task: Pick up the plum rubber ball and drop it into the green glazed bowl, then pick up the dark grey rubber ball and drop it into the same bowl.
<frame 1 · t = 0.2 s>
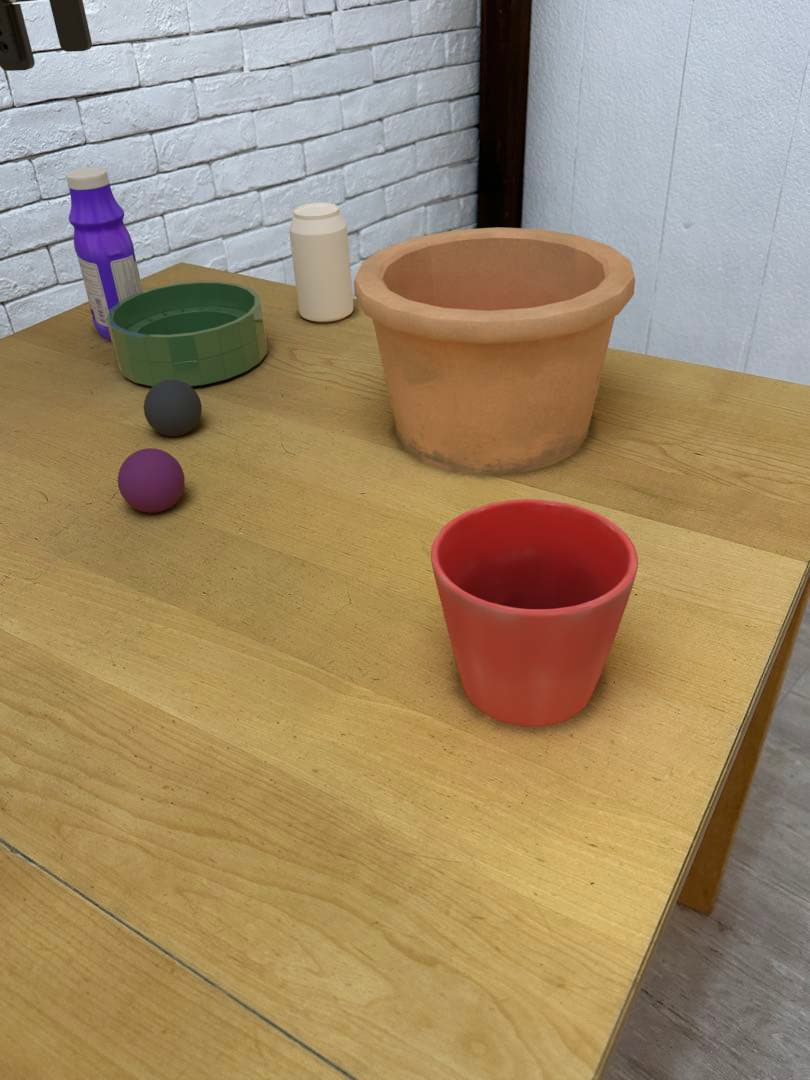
hand: (49, 59, 63), 30 cm above the table, tool pointing down, fingers open, 8 cm apart
beverage can: (327, 318, 103), on the table
bottle: (125, 335, 102), on the table
flower pot: (527, 683, 54), on the table
plum ball: (158, 507, 72), on the table
grey ball: (178, 433, 82), on the table
green bowl: (195, 362, 94), on the table
pottery: (491, 431, 80), on the table
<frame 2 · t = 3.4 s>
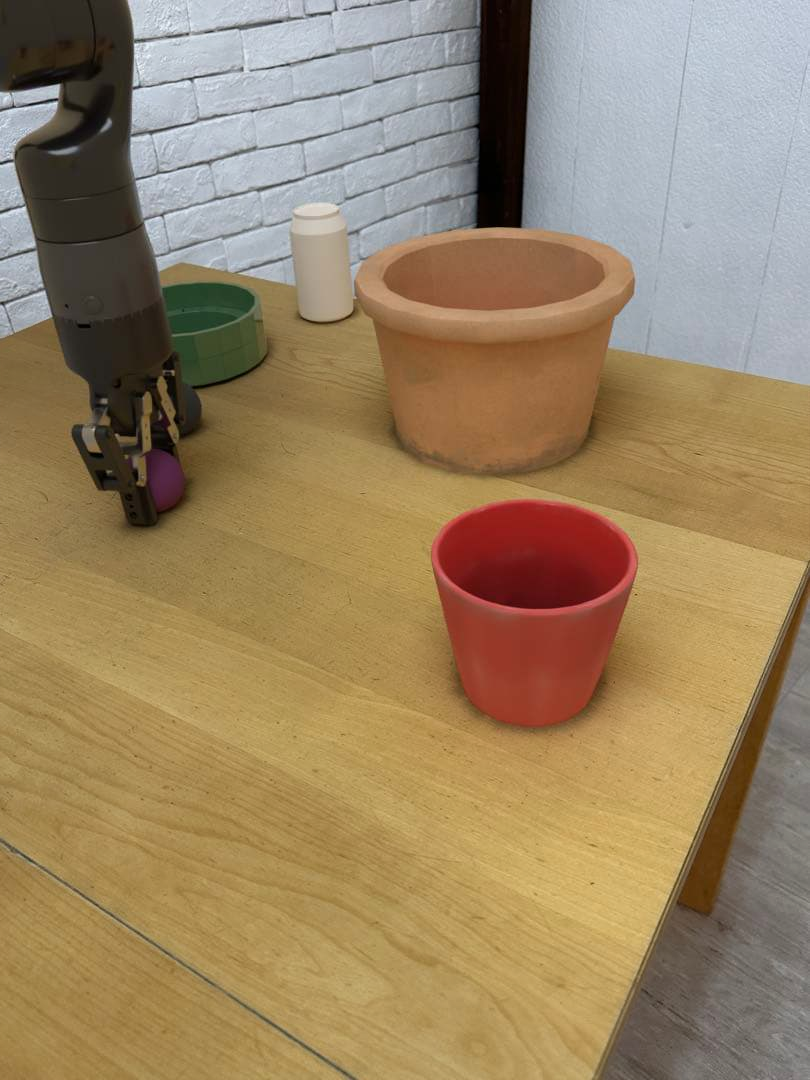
hand: (157, 503, 71), 0 cm above the table, tool pointing down, fingers closed on plum ball, 5 cm apart
plum ball: (158, 507, 72), on the table, touching gripper
everything else where it was.
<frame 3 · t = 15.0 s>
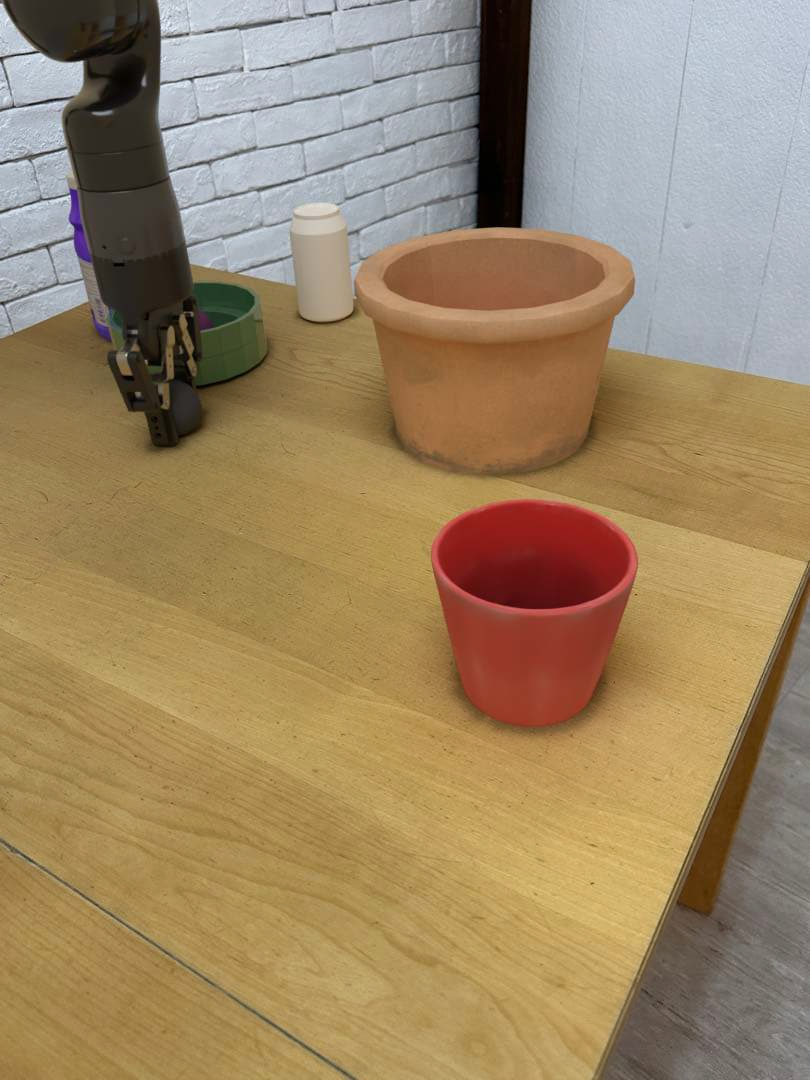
hand: (177, 429, 81), 0 cm above the table, tool pointing down, fingers closed on grey ball, 5 cm apart
plum ball: (194, 355, 94), point 1 cm above the table, touching green bowl
grey ball: (178, 433, 82), on the table, touching gripper
everything else where it was.
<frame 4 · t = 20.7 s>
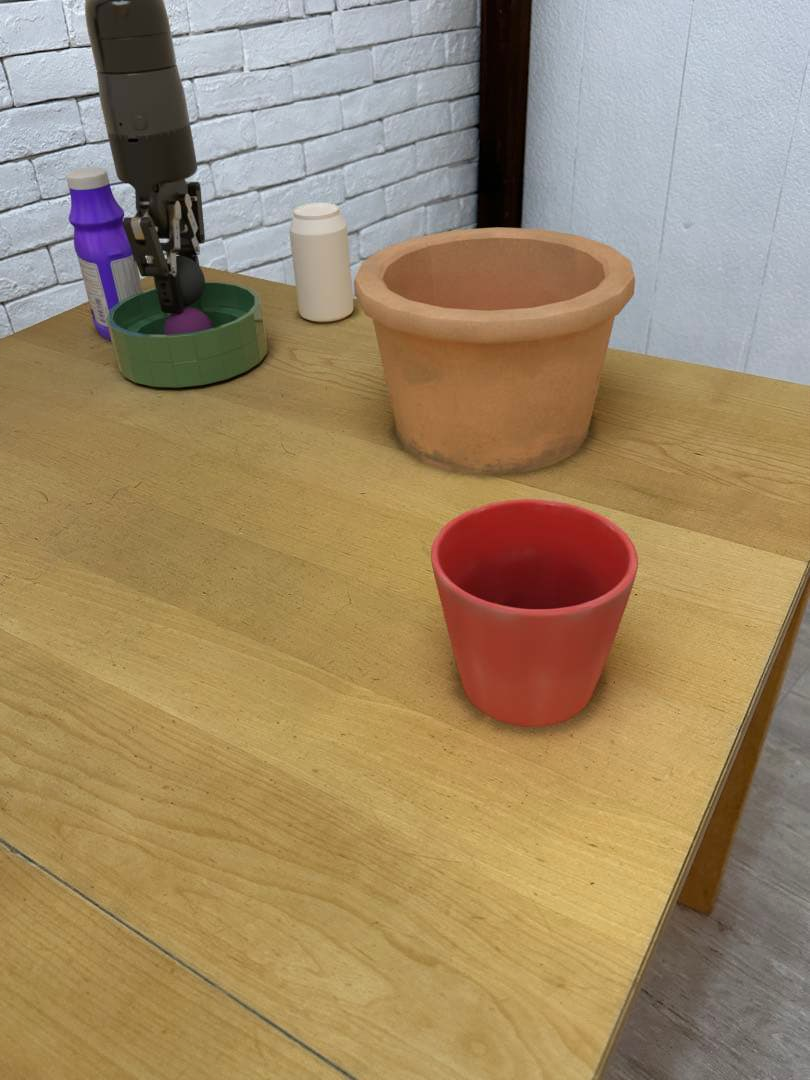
hand: (183, 301, 93), 6 cm above the table, tool pointing down, fingers closed on grey ball, 5 cm apart
plum ball: (194, 355, 94), point 1 cm above the table, touching green bowl, gripper
grey ball: (184, 305, 93), point 5 cm above the table, touching gripper
everything else where it was.
when the fingers open (5 cm above the table, at t = 26.2 s): grey ball stays where it is, point 5 cm above the table.
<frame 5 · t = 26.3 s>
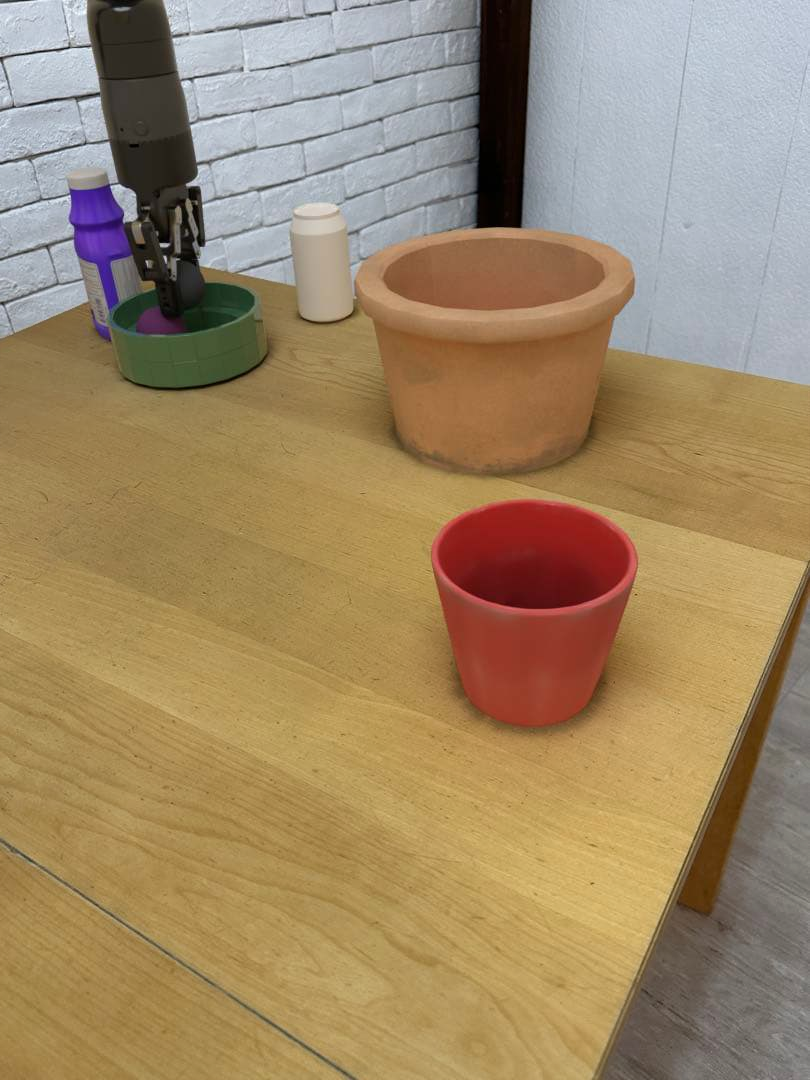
hand: (183, 305, 93), 5 cm above the table, tool pointing down, fingers open, 5 cm apart
plum ball: (184, 339, 93), point 3 cm above the table, tilted 72°, touching green bowl
grey ball: (184, 309, 93), point 5 cm above the table, touching gripper
everything else where it was.
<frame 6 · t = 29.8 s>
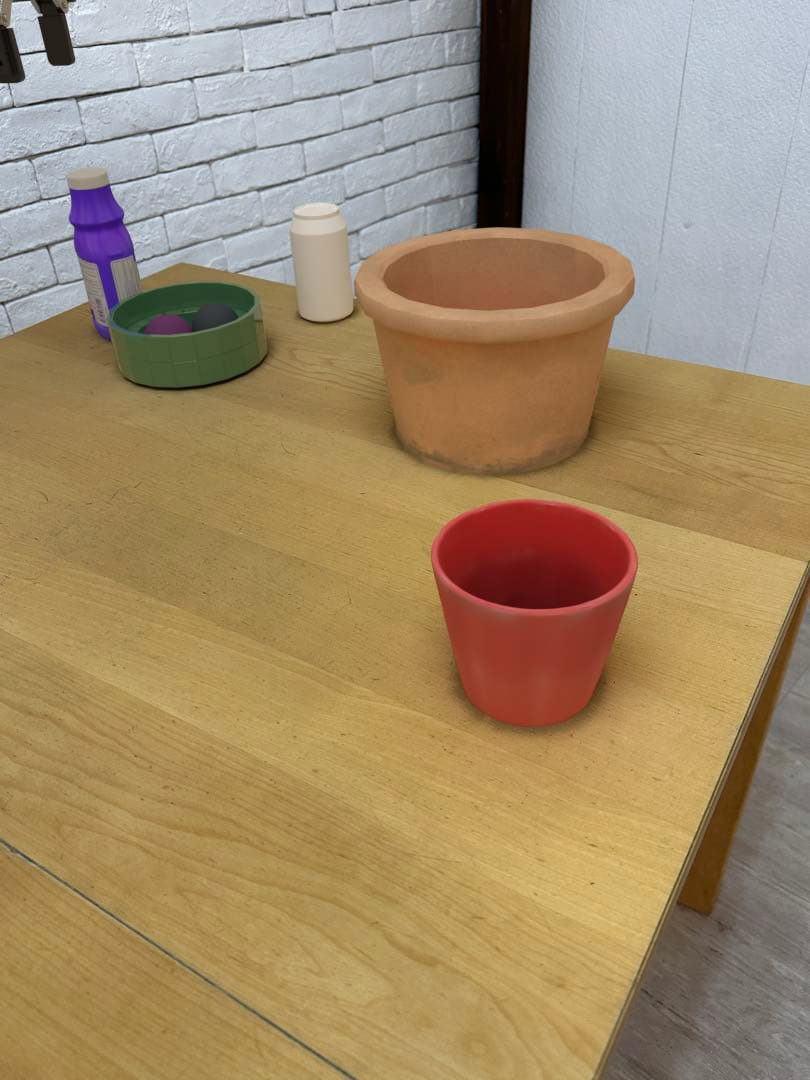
hand: (38, 73, 74), 28 cm above the table, tool pointing down, fingers open, 8 cm apart
plum ball: (189, 353, 93), point 2 cm above the table, tilted 44°, touching green bowl
grey ball: (195, 332, 92), point 3 cm above the table, tilted 94°, touching green bowl
everything else where it was.
at the end: plum ball inside the target area in the green bowl (1.1 cm from its centre), point 1.5 cm above the green bowl's base; grey ball inside the target area in the green bowl (0.9 cm from its centre), point 3.5 cm above the green bowl's base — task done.
